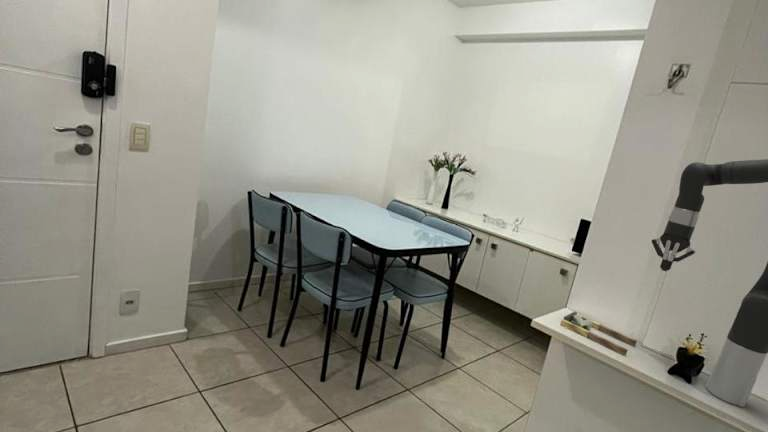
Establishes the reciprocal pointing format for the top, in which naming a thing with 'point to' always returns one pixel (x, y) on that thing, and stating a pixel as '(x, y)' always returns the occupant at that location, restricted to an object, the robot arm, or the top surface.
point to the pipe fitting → (582, 322)
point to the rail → (567, 323)
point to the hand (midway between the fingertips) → (664, 270)
